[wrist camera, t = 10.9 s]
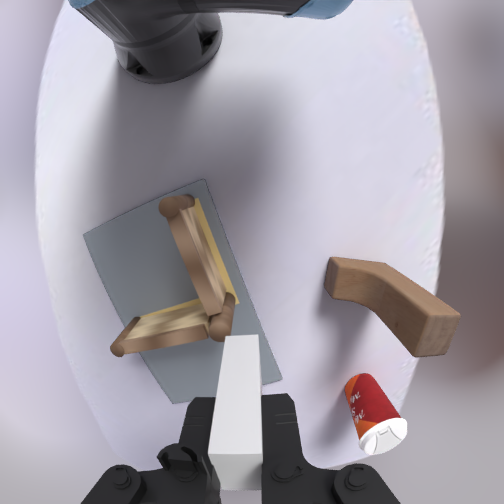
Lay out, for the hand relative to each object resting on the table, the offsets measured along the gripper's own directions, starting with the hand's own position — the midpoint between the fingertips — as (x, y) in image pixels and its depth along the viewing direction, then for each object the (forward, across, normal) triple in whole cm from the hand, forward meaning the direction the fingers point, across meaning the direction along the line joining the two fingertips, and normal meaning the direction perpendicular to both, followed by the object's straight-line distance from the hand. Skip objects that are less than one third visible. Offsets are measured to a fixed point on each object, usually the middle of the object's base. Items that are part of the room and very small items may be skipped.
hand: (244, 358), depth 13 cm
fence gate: (+23, -12, -9) cm, 28 cm away
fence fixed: (+24, -6, -1) cm, 24 cm away
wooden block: (+24, +14, -6) cm, 29 cm away
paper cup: (+24, +17, -27) cm, 40 cm away
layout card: (+24, -10, -9) cm, 28 cm away
